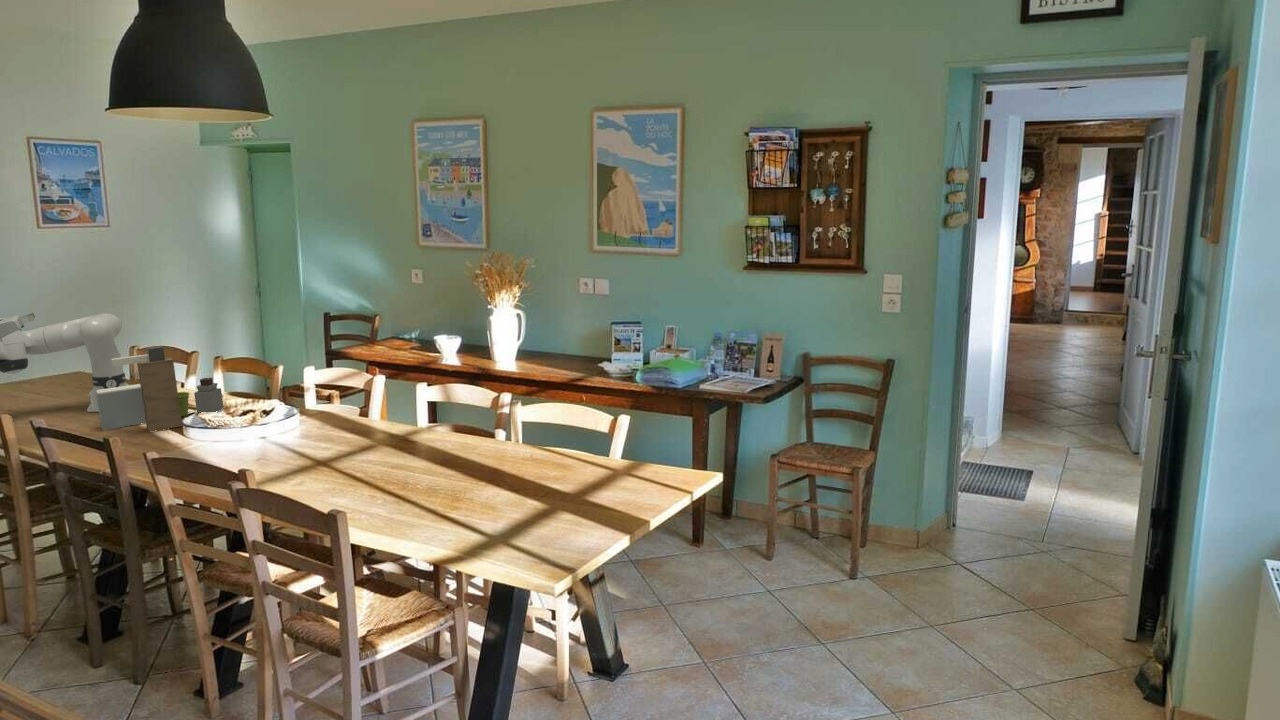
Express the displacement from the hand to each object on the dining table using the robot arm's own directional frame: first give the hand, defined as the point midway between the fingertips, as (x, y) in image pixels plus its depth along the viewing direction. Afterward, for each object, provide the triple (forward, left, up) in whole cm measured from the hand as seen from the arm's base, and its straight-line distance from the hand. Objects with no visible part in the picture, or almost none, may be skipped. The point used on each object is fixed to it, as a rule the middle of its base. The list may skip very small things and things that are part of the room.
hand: (34, 316), depth 328 cm
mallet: (+9, +29, -20) cm, 37 cm away
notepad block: (-6, +24, -46) cm, 52 cm away
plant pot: (-7, +43, -46) cm, 63 cm away
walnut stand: (+9, +35, -46) cm, 58 cm away
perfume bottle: (+18, +50, -46) cm, 70 cm away
